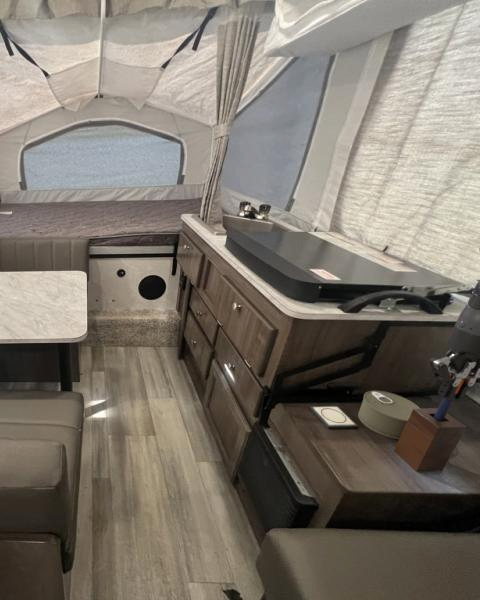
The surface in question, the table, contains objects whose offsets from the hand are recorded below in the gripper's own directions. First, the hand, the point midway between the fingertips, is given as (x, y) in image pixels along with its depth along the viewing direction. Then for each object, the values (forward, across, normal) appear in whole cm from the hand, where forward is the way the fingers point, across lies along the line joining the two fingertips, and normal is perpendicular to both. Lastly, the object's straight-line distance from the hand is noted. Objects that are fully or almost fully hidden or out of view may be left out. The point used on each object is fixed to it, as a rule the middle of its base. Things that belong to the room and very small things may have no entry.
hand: (449, 396), depth 70 cm
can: (+20, +2, +12) cm, 24 cm away
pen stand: (+20, 0, 0) cm, 20 cm away
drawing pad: (+20, -10, +15) cm, 27 cm away
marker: (+10, 0, 0) cm, 10 cm away
